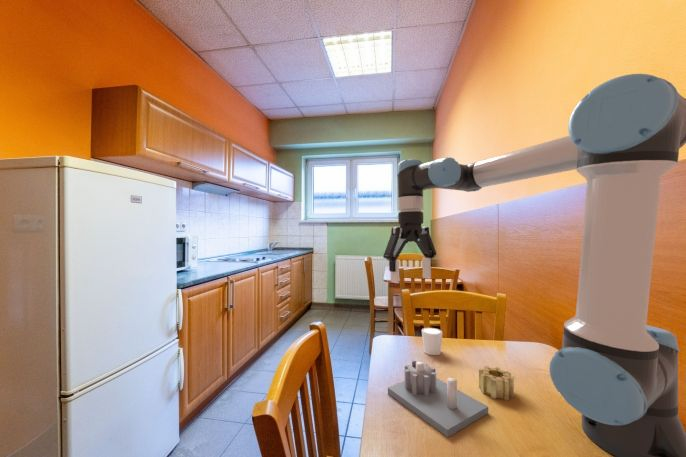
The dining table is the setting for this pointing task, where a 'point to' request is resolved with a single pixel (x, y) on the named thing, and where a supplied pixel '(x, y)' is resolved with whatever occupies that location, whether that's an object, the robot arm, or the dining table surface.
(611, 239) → the robot arm
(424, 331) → the beige cup
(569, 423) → the dining table surface
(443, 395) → the gear board
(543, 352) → the dining table surface
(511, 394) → the brass gear
